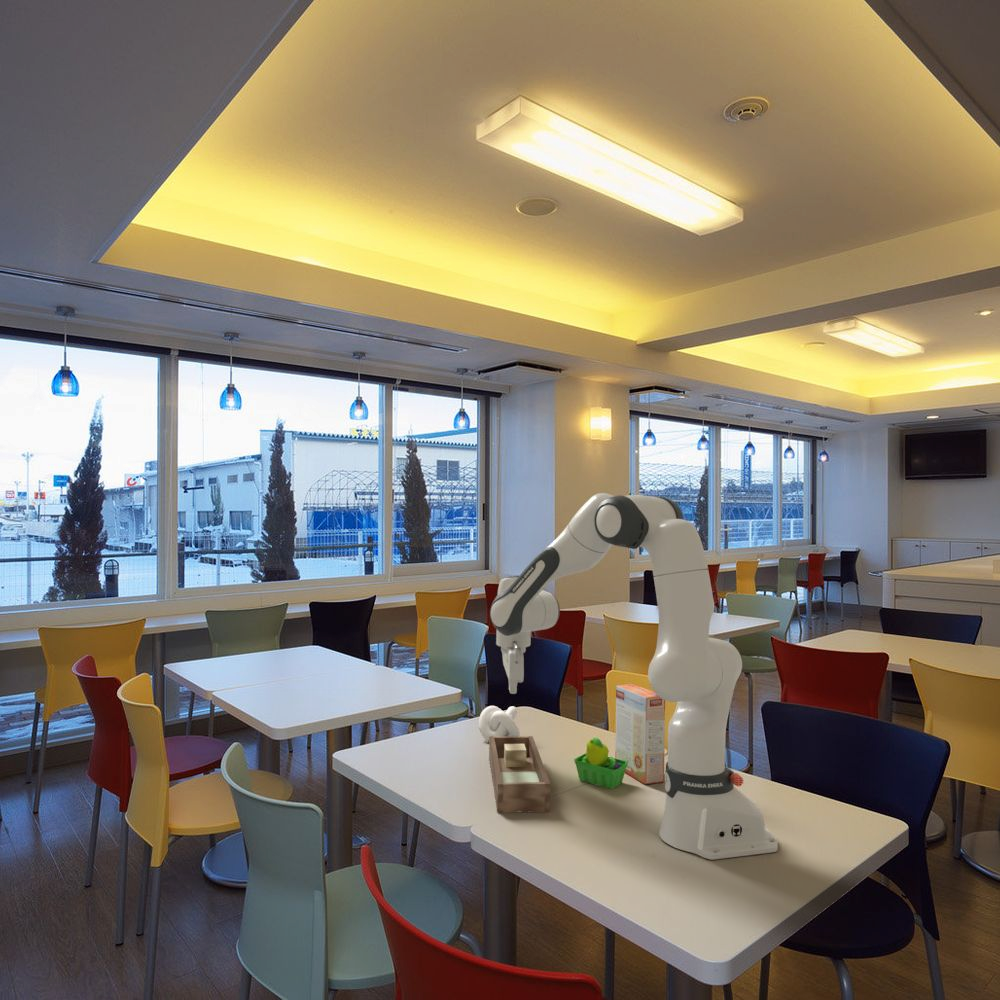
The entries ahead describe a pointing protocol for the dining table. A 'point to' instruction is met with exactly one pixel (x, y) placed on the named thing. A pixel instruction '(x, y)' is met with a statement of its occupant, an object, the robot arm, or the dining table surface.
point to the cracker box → (640, 732)
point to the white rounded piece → (498, 722)
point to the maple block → (515, 755)
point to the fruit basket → (600, 765)
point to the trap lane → (519, 777)
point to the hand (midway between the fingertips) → (512, 692)
